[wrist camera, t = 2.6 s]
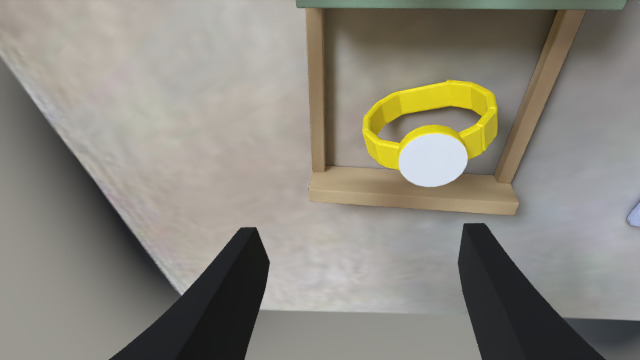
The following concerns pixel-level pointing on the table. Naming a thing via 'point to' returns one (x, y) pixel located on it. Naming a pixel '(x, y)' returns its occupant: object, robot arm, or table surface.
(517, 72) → the table surface
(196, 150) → the table surface
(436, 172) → the watch
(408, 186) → the step shelf
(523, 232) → the table surface
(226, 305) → the robot arm
